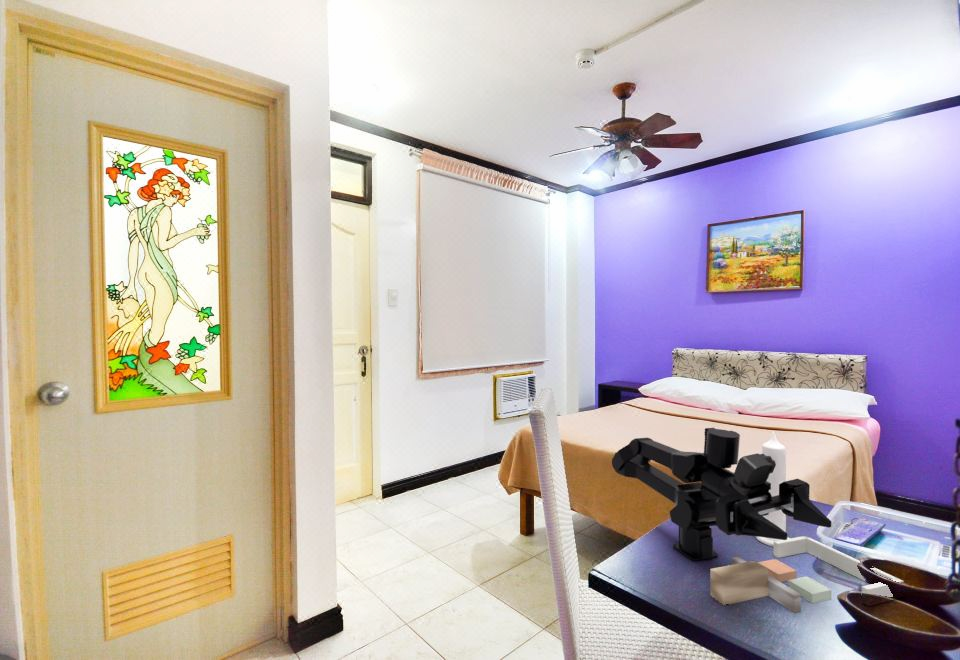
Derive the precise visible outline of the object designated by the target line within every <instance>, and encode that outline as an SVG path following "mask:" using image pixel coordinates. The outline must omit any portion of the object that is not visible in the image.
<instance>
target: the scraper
mask: <svg viewBox="0 0 960 660" xmlns="http://www.w3.org/2000/svg"><path fill="white" fill-rule="evenodd" d="M709 571H710V575H709V576H710V577H709V578H710V583H709V584H710V587H709V589H710V591H709V592H710V594H709V595H711V596H712V597H711V596H710V597H711V598H713V599H714V598H715V599H714V600H716V601H717V600H718V601H719V602H718V601H717V602H718V603H719V604H721V603H722V604H723V605H722V604H721V605H722V606H724V605H725V606H727V605H726V604H729V605H732V604H737V603H742V602H746V601H749V600H756V599H759V598H763V597H769V598H771V599H772V600H774V601H775V602H777V603H779V604H780V605H782V606H783V607H785V608H786V609H788V610H789V611H791V612H793V613H795V614H796V613H799V612H801V611H802V597H801V594H800V593H798V592H796V591H795V590H793V589H791V588H789V587H788V586H787V585H786V584H785V583H784V582H779V581H778V580H776V579H774V578H773V577H771V576H769V575H768V569H767V568H766V567H764V566H762V565H760V564H759V563H758V562H757V561H755V560H750V561H747V560H744V559H743V558H741V557H740V556H733V557H731V564H728V565H725V566H718V567H713V568H710V570H709Z"/></svg>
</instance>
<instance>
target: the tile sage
mask: <svg viewBox="0 0 960 660" xmlns="http://www.w3.org/2000/svg"><path fill="white" fill-rule="evenodd" d="M787 583H788V587H789V588H791V589H793V590H795V591H796V592H798V593H800V594H801V598H803V599H804V600H806V601H808V602H809V603H811V604H817V603H820V602H824V601H829V600H831V599H832V588H831V589H830V588H829V587H827V586H825V585H823V584H822V583H820V582H817V581H816V580H815V579H812V578H811V577H809V576H807V575H806V576H802V577H796V579H792V580H788V581H787Z"/></svg>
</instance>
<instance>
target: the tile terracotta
mask: <svg viewBox="0 0 960 660" xmlns="http://www.w3.org/2000/svg"><path fill="white" fill-rule="evenodd" d="M757 563H759V564H760V565H762V566H764V567H766V568H767V569H768V575H769V576H771V577H773V578H774V579H776V580H778V581H779V582H781V583H784V582H788V580H792V579H796V578H797V570H796V569H794V568H792V567H791V566H789V565H787V564H785V563H783V562H781V561H779V560H778V559H776V558H774V559H773V558H772V559H768V560H764V561H758V562H757Z"/></svg>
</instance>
